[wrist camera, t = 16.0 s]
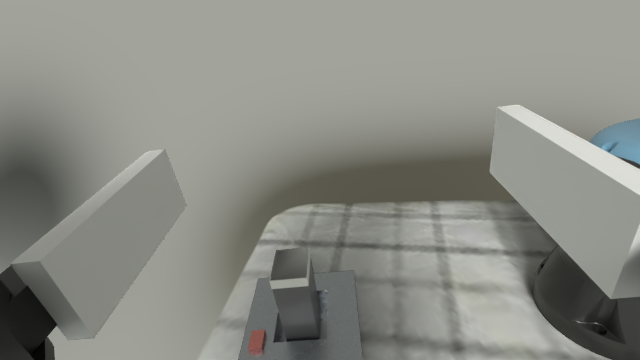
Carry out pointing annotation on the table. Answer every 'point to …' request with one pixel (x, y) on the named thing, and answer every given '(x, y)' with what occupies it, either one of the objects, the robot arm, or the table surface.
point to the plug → (296, 294)
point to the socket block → (335, 325)
